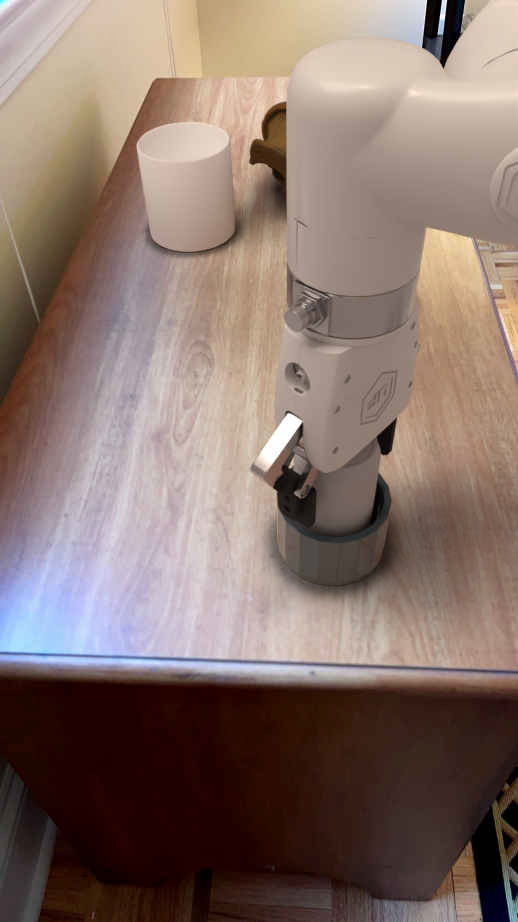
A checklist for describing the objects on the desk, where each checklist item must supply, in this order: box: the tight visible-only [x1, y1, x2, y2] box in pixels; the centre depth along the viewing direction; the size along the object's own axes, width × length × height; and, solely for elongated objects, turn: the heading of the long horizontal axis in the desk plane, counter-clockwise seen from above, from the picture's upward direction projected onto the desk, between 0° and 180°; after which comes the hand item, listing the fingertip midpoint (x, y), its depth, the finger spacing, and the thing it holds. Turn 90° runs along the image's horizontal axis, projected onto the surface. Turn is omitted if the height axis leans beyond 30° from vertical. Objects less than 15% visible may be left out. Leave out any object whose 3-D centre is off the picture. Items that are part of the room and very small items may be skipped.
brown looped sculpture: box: [248, 100, 287, 204], centre depth 95 cm, size 18×13×22 cm
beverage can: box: [293, 436, 382, 537], centre depth 54 cm, size 6×6×12 cm
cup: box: [136, 121, 236, 253], centre depth 90 cm, size 12×12×12 cm
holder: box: [276, 465, 393, 586], centre depth 57 cm, size 9×9×6 cm
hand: (336, 479), depth 53 cm, fingers open, 9 cm apart
